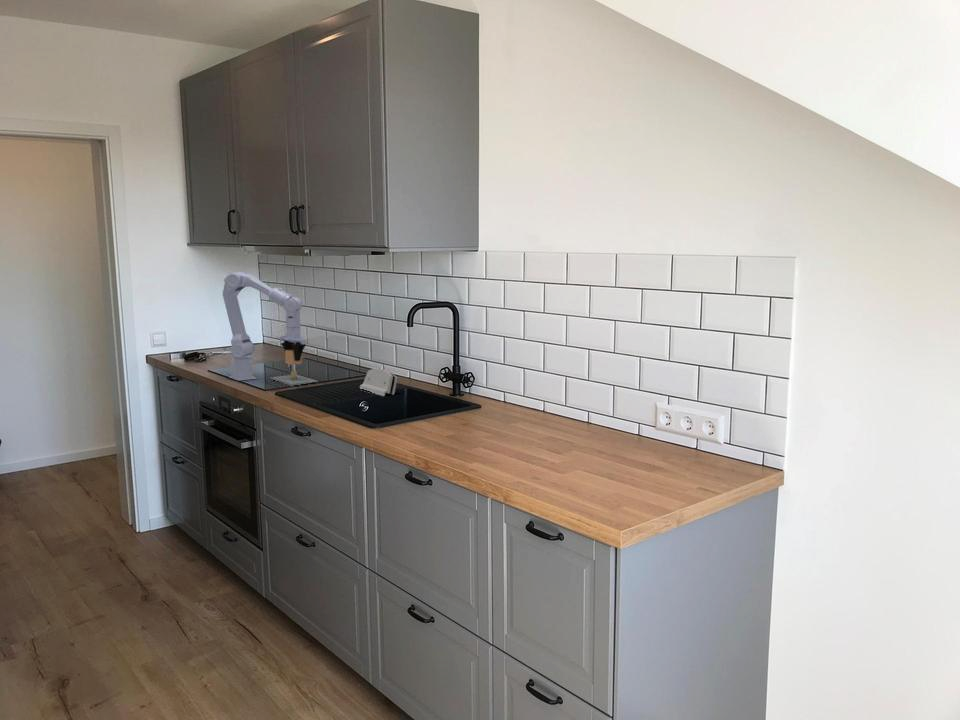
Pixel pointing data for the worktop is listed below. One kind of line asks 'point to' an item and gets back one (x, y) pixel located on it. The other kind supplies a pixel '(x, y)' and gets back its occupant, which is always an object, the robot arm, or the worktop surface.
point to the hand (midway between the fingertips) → (293, 360)
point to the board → (293, 379)
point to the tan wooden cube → (291, 357)
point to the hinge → (379, 382)
